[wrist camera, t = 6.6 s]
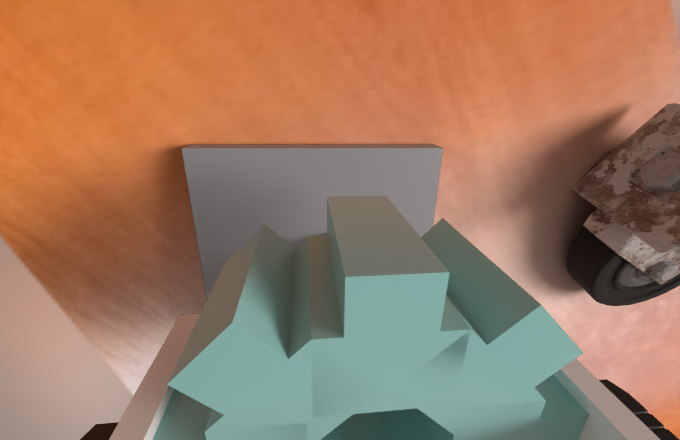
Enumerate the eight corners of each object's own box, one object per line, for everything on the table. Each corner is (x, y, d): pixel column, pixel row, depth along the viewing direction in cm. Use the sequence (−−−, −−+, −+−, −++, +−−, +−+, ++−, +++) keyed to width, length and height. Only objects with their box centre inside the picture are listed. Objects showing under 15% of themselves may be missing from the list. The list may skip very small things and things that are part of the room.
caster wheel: (581, 273, 27) (511, 231, 23) (723, 172, 22) (665, 96, 18) (651, 343, 22) (576, 305, 18) (859, 232, 17) (821, 142, 13)
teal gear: (187, 199, 10) (87, 288, 5) (508, 193, 11) (655, 263, 6) (227, 432, 14) (189, 600, 9) (461, 411, 15) (531, 551, 10)
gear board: (191, 144, 18) (117, 175, 11) (433, 144, 19) (507, 171, 12) (234, 419, 26) (208, 539, 19) (401, 404, 27) (435, 511, 20)
